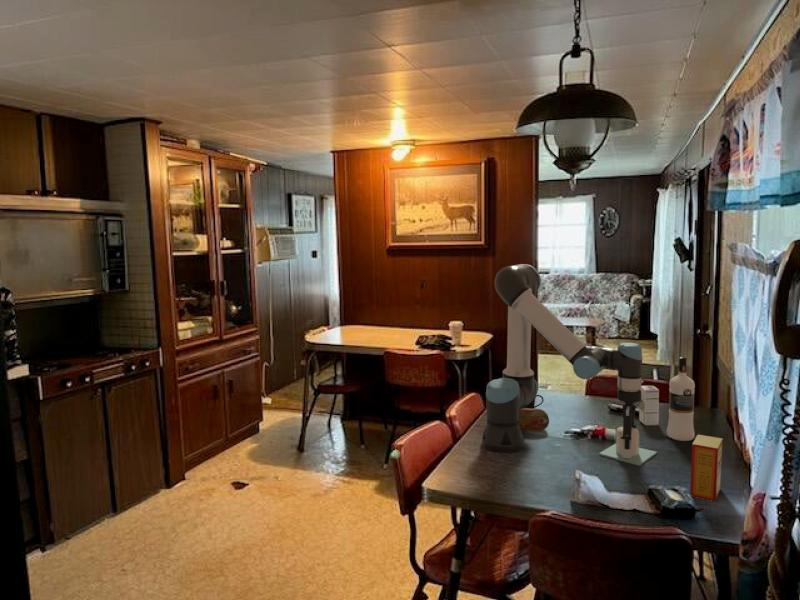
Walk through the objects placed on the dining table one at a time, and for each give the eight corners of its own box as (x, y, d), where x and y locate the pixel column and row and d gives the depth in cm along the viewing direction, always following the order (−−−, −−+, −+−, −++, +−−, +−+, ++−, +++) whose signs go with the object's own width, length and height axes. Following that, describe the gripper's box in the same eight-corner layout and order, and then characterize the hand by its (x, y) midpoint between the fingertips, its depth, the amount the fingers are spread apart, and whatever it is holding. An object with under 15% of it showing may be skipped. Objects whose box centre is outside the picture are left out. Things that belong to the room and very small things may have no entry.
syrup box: (659, 425, 227) (660, 389, 226) (643, 425, 228) (644, 389, 226) (653, 420, 233) (653, 385, 231) (638, 420, 233) (639, 385, 231)
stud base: (639, 466, 190) (640, 448, 189) (599, 454, 200) (599, 437, 199) (657, 453, 200) (657, 436, 199) (617, 443, 210) (617, 427, 209)
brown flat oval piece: (509, 429, 227) (509, 409, 226) (509, 427, 230) (509, 406, 229) (549, 432, 223) (549, 410, 222) (548, 429, 226) (549, 408, 225)
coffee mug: (511, 411, 249) (511, 388, 248) (527, 408, 253) (527, 386, 251) (528, 419, 239) (528, 395, 237) (545, 415, 242) (545, 392, 241)
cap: (632, 457, 195) (633, 434, 194) (613, 452, 200) (613, 430, 199) (641, 452, 200) (641, 429, 199) (622, 447, 205) (622, 425, 204)
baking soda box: (696, 484, 176) (697, 433, 174) (720, 489, 172) (722, 437, 170) (690, 496, 168) (692, 442, 166) (715, 501, 164) (717, 447, 162)
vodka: (688, 432, 218) (691, 354, 215) (698, 441, 209) (701, 360, 205) (662, 432, 219) (665, 354, 216) (671, 441, 210) (674, 360, 206)
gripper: (639, 399, 185) (637, 465, 188) (643, 381, 205) (642, 442, 208) (614, 396, 188) (613, 462, 191) (620, 379, 209) (619, 439, 211)
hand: (628, 451), depth 200 cm, fingers open, 10 cm apart
